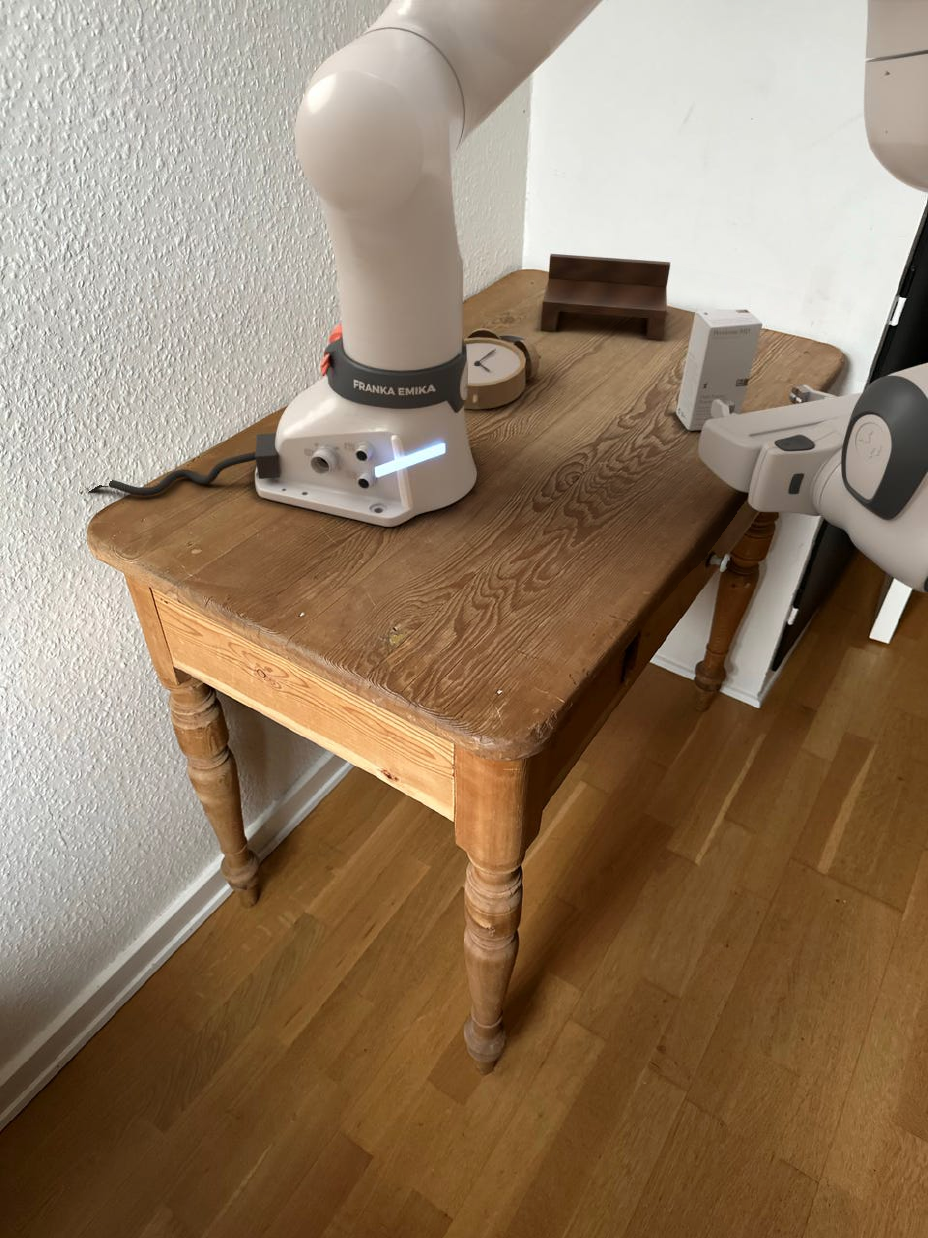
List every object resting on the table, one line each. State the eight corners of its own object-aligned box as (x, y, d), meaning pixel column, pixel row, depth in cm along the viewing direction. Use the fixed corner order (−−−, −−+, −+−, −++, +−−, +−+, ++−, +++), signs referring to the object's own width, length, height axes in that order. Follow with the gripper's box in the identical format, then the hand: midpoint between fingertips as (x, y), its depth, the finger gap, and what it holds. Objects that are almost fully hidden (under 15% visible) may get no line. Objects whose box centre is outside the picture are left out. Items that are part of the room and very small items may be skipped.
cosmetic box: (688, 432, 100) (709, 327, 92) (673, 413, 104) (692, 310, 96) (740, 427, 101) (765, 323, 93) (723, 408, 105) (746, 306, 97)
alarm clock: (408, 369, 104) (482, 306, 112) (414, 404, 108) (485, 341, 116) (488, 397, 100) (560, 329, 107) (491, 433, 103) (560, 365, 111)
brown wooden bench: (540, 330, 120) (544, 277, 115) (546, 304, 127) (550, 253, 122) (662, 340, 118) (670, 287, 114) (661, 312, 125) (670, 261, 120)
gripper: (945, 418, 84) (850, 355, 93) (756, 454, 78) (676, 383, 88) (921, 476, 88) (833, 410, 98) (740, 514, 82) (666, 440, 92)
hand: (757, 398), depth 93 cm, fingers open, 8 cm apart
